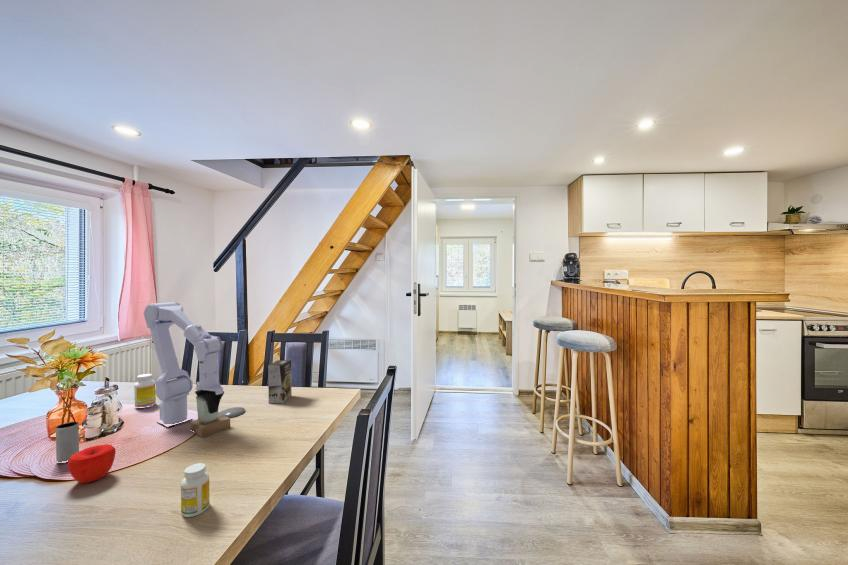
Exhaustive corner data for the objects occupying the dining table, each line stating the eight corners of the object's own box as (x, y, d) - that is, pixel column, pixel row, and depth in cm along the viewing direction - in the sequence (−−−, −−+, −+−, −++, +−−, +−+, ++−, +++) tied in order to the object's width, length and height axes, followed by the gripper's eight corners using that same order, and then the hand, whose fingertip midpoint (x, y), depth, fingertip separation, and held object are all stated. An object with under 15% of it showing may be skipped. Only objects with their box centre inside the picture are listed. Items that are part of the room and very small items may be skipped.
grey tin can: (82, 457, 99) (81, 422, 99) (62, 465, 95) (61, 429, 94) (73, 454, 100) (72, 420, 100) (52, 462, 96) (51, 427, 96)
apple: (73, 494, 82) (72, 462, 82) (63, 482, 87) (63, 452, 86) (121, 475, 89) (120, 446, 89) (109, 466, 94) (109, 438, 94)
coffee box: (283, 403, 140) (282, 365, 139) (268, 403, 140) (267, 365, 139) (292, 395, 149) (291, 359, 148) (277, 395, 149) (277, 359, 148)
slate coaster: (213, 414, 128) (213, 413, 128) (237, 407, 136) (237, 405, 136) (225, 420, 124) (225, 418, 124) (249, 411, 131) (249, 410, 131)
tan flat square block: (189, 430, 115) (189, 421, 115) (217, 420, 123) (217, 412, 123) (202, 437, 111) (202, 428, 111) (230, 426, 118) (230, 418, 118)
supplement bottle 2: (185, 521, 72) (184, 478, 72) (178, 510, 76) (177, 468, 76) (213, 508, 77) (212, 466, 76) (205, 498, 80) (204, 458, 80)
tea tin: (197, 421, 116) (196, 396, 115) (212, 415, 120) (210, 391, 119) (204, 424, 113) (202, 399, 113) (219, 418, 117) (217, 394, 116)
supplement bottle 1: (158, 405, 139) (157, 374, 138) (138, 410, 133) (137, 378, 133) (152, 402, 142) (151, 372, 142) (132, 407, 137) (131, 376, 136)
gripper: (186, 372, 117) (187, 410, 117) (206, 378, 109) (207, 419, 109) (208, 367, 123) (209, 403, 123) (229, 373, 115) (229, 412, 115)
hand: (209, 411), depth 117 cm, fingers closed on tea tin, 4 cm apart
